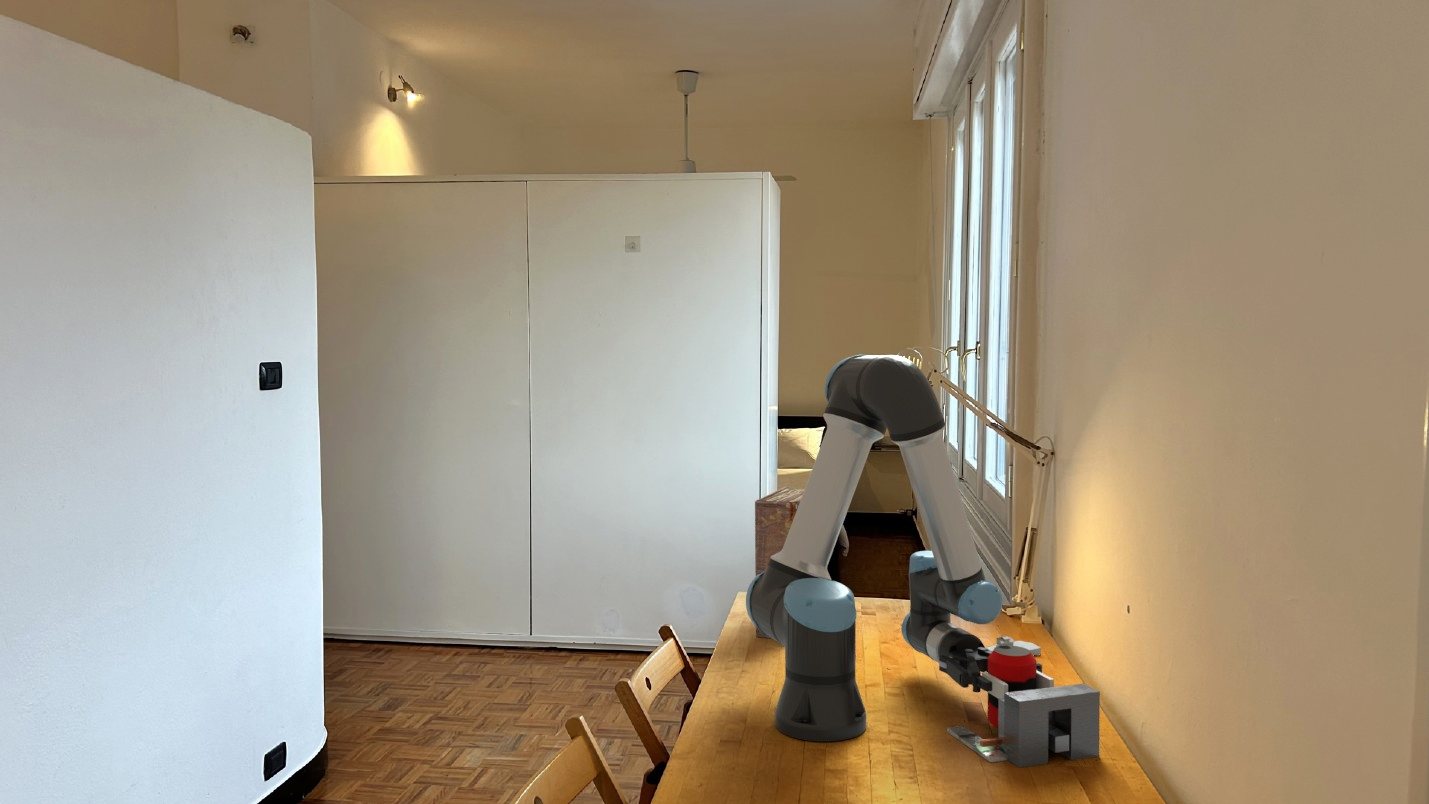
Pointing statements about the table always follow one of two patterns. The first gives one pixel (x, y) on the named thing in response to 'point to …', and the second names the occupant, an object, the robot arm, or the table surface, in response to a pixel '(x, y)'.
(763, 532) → the book
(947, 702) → the table surface
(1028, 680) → the soda can
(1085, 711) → the gauge bed
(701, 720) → the table surface
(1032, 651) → the grey flat angular piece
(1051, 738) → the grey block
